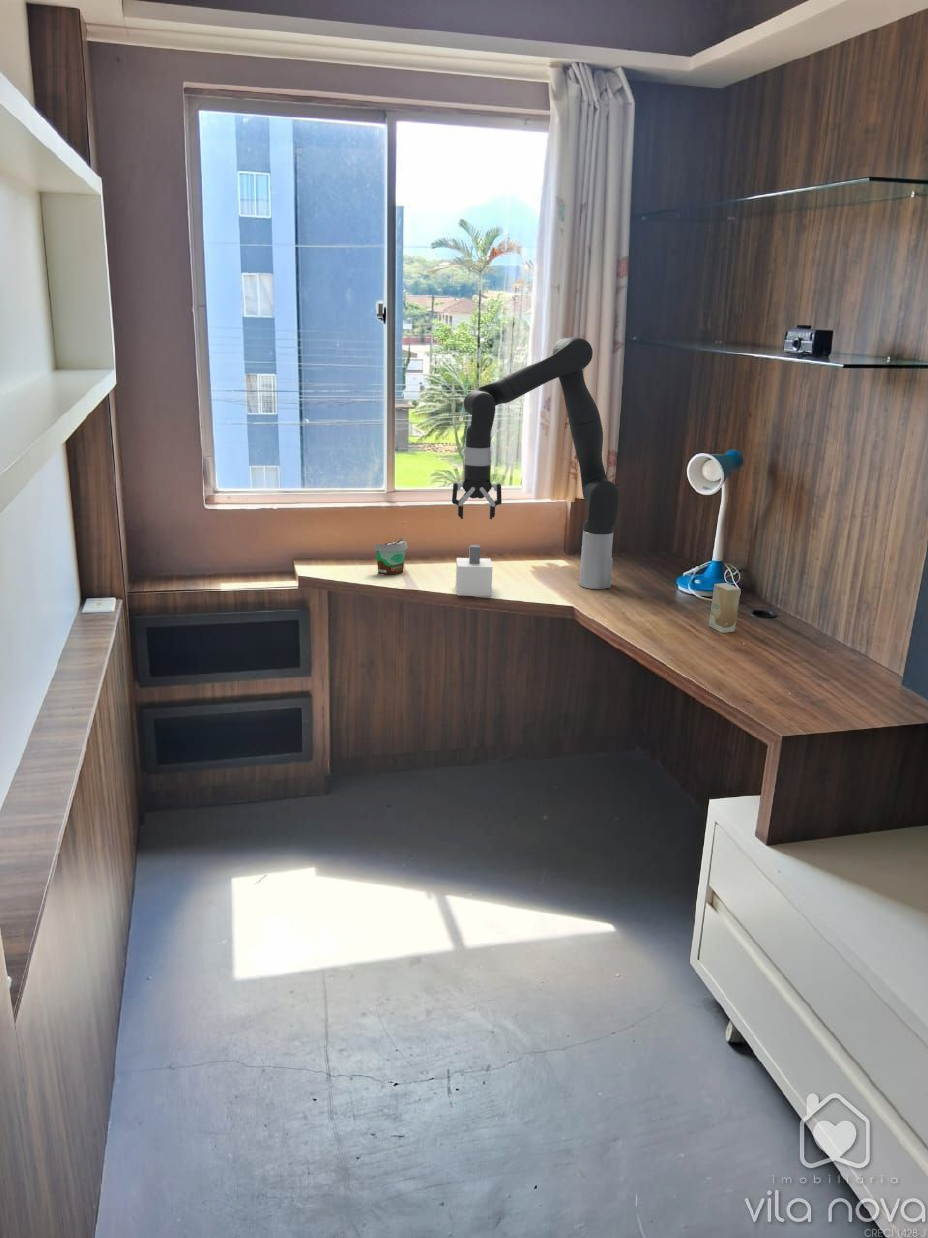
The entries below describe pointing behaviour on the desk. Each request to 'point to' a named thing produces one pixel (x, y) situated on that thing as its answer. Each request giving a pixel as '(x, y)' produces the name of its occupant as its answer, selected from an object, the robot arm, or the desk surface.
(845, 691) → the desk surface
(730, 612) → the skincare box
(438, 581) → the desk surface
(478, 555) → the white block with peg
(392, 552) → the food container
